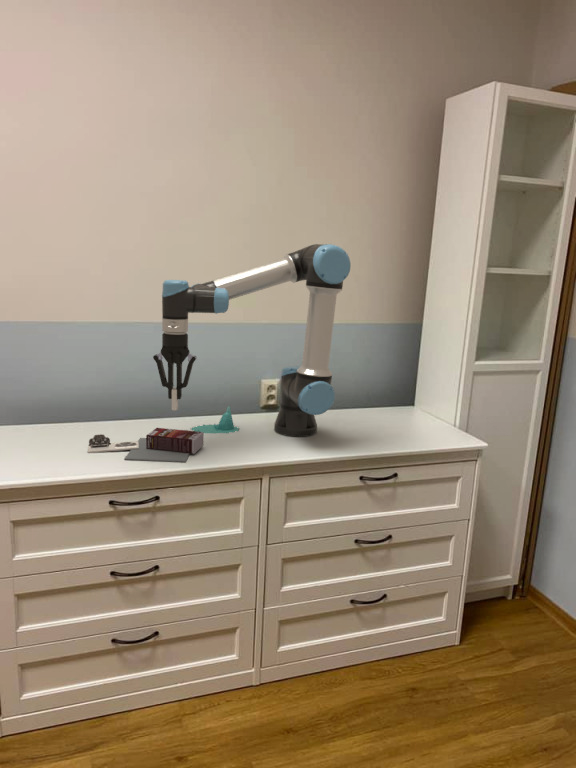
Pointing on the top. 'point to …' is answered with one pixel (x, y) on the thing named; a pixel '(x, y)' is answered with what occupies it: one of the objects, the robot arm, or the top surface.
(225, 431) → the diorama
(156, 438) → the supplement box
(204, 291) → the robot arm
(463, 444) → the top surface
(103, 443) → the car cutout
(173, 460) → the mat
